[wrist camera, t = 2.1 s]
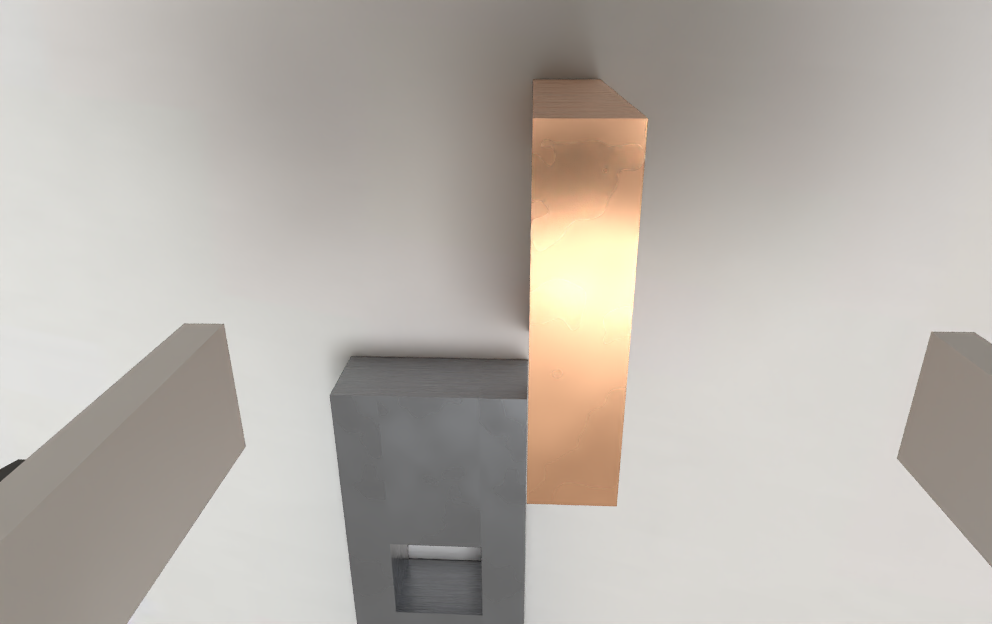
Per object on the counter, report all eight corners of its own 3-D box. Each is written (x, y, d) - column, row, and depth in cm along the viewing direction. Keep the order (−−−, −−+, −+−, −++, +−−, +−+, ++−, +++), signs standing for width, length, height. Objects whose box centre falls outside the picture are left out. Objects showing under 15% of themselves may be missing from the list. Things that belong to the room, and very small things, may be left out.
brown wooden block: (532, 79, 22) (532, 118, 13) (600, 79, 22) (648, 118, 13) (529, 332, 26) (526, 503, 16) (586, 333, 26) (616, 506, 16)
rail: (350, 356, 26) (329, 395, 24) (527, 360, 26) (526, 399, 23) (391, 754, 36) (379, 815, 33) (522, 761, 36) (520, 822, 33)
